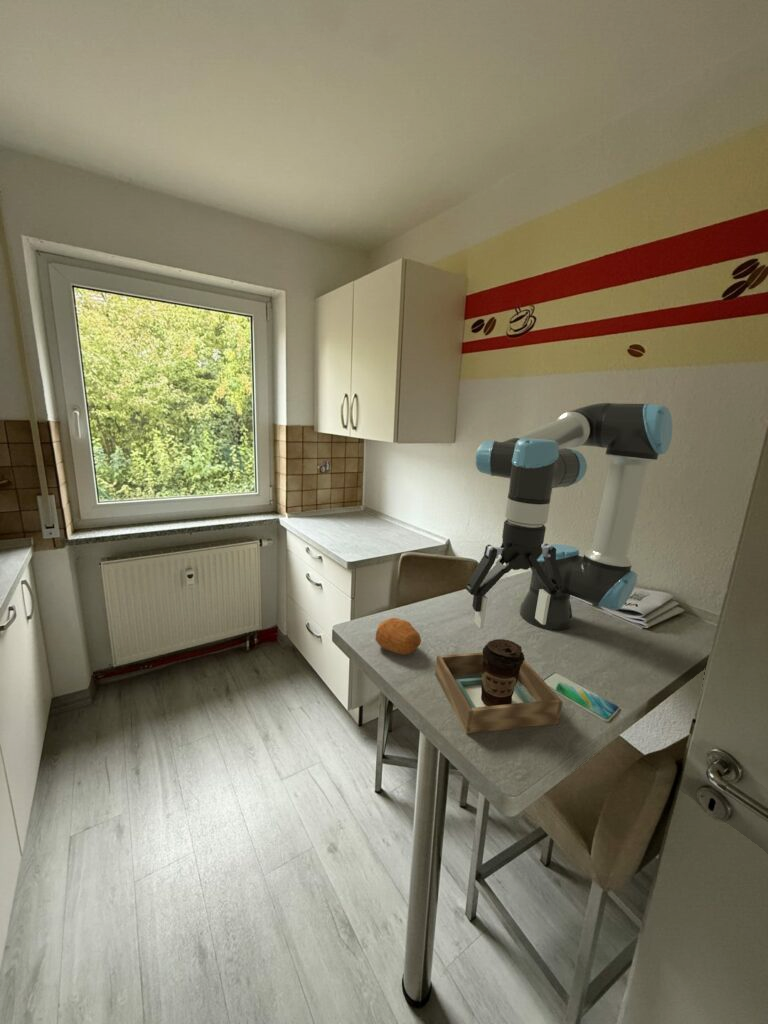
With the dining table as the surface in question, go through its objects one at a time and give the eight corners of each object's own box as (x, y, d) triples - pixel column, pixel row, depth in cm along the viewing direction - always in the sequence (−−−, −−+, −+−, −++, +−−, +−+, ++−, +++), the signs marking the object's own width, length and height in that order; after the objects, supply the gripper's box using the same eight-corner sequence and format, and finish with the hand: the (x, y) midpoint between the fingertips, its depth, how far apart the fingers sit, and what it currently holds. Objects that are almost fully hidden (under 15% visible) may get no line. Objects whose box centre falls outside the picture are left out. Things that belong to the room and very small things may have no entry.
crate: (512, 668, 99) (515, 650, 98) (558, 723, 82) (562, 701, 81) (434, 674, 94) (437, 655, 93) (466, 733, 77) (469, 711, 76)
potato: (394, 634, 111) (396, 609, 109) (426, 652, 103) (429, 626, 101) (370, 646, 104) (371, 619, 102) (402, 667, 97) (405, 638, 95)
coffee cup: (518, 720, 81) (527, 663, 78) (475, 711, 83) (483, 654, 80) (515, 692, 90) (523, 639, 87) (476, 684, 91) (483, 632, 88)
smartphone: (554, 671, 98) (621, 707, 87) (554, 674, 99) (620, 710, 88) (539, 681, 94) (607, 720, 83) (538, 684, 94) (606, 724, 83)
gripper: (570, 516, 83) (553, 611, 88) (455, 516, 78) (445, 617, 83) (596, 527, 76) (576, 629, 81) (472, 528, 70) (459, 637, 76)
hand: (509, 623), depth 82 cm, fingers open, 13 cm apart
